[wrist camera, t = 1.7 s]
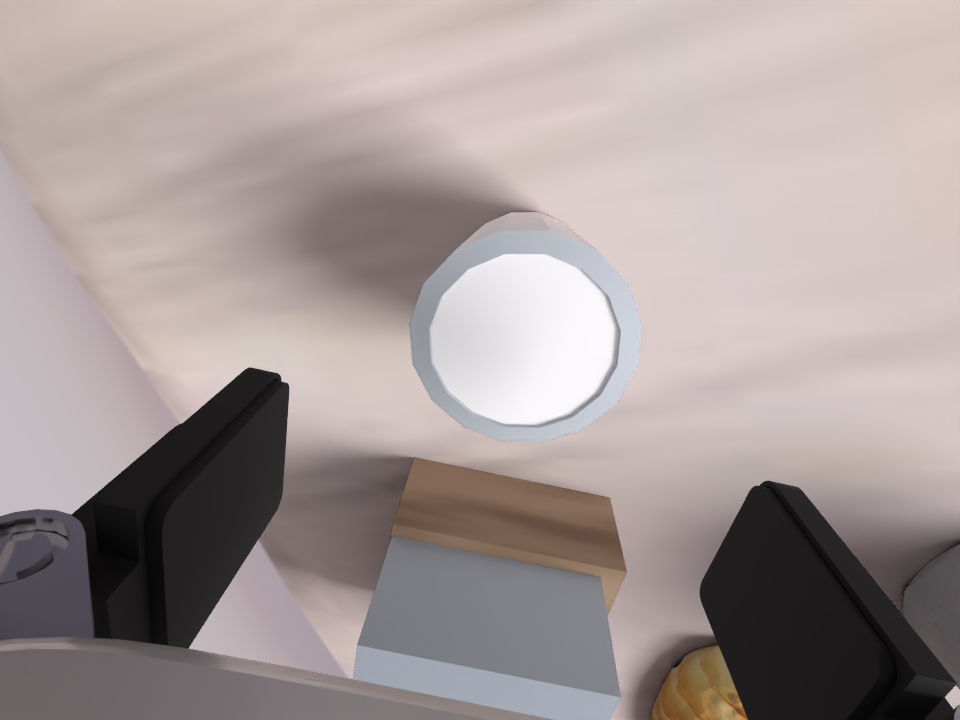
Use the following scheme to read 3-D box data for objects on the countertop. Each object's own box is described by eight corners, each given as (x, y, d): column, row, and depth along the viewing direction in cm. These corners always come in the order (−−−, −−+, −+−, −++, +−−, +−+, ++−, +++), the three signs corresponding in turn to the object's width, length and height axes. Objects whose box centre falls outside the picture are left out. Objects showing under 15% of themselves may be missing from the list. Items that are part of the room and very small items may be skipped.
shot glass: (628, 212, 20) (677, 255, 14) (583, 368, 23) (605, 463, 17) (455, 179, 20) (422, 206, 14) (431, 339, 23) (396, 423, 17)
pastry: (712, 744, 34) (733, 815, 30) (619, 713, 33) (630, 781, 30) (802, 662, 30) (837, 732, 26) (698, 624, 29) (721, 691, 26)
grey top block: (392, 535, 22) (357, 645, 17) (601, 577, 22) (620, 697, 17) (372, 670, 26) (339, 788, 21) (550, 705, 26) (555, 830, 21)
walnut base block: (415, 453, 26) (392, 523, 21) (608, 494, 26) (626, 572, 22) (392, 590, 30) (368, 673, 26) (558, 624, 30) (564, 713, 26)
